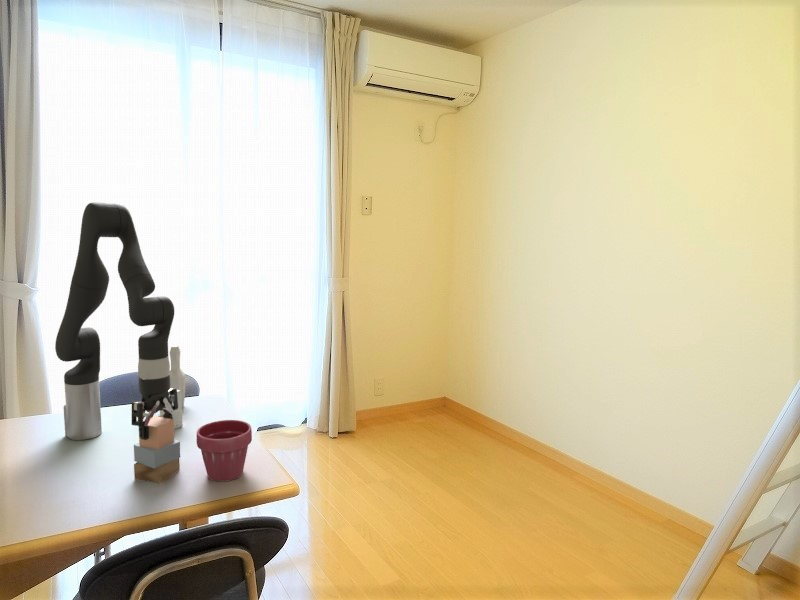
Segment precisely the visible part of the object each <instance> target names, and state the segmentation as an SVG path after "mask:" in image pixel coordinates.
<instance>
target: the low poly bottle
mask: <svg viewBox="0 0 800 600" xmlns="http://www.w3.org/2000/svg"><path fill="white" fill-rule="evenodd" d="M169 358H170V359H169V360H170V388H174V389H177V390H180V391H181V395H182V408H183V407H184V406H185V398H186V397H185V395H186V388H187V381H186V379H187V378H186V373H185V372H184V371H183V370H182V369H181V350H180V346H179V345H171V346H170V350H169Z"/></svg>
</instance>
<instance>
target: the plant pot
mask: <svg viewBox="0 0 800 600" xmlns="http://www.w3.org/2000/svg"><path fill="white" fill-rule="evenodd" d="M252 431H253V430H252V426H251V424H250V423H248V422H246V421H243V420H237V419H223V420H216V421H212V422H208V423H206V424H204V425H202V426H200V427H198V429H197V430H196V446H197V448H198V449H199V450H200V452H201V457H202V460H203V463H204V467H205V471H206V474H207V478H209V479H210V480H212V481H215V482H228V481H232V480H235V479H236V480H237V478H239V477H241V476H242V475H243V473H244V469H245V468H244V467H245V463H246V459H247V455H248V448H249V445H250V444H251V442H252V440H253V436H252V435H253V432H252Z"/></svg>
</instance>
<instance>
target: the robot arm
mask: <svg viewBox="0 0 800 600" xmlns="http://www.w3.org/2000/svg"><path fill="white" fill-rule="evenodd" d="M79 235H80V236H79V244H78V252H77V257H76V261H75V266H74V270H73V274H72V277H71V282H70V287H69V292H68V297H67V298H68V299H67V302H66V306H65V310H64V314H63V317H62V321H61V323H60V325H59V328H58V331H57V335H56V339H55V344H54V345H55V353H56V356H57V358H58V359H59V360H60V361H62V362H75V361H78V363H77V364H76V365H75V366H73V367H72V368H71V369H68V370H67V371H66V372H65V373H64V375H63V380H64V381H63V382H64V393H65V395H64V397H65V404H64V405H63V420H64V433H65V434H64V436H66V437H67V438H68V439H69V440H73V441H74V440H75V441H82V440H84V441H85V440H91V439H93V438H95V437H98V436H100V435H101V434H102V429H103V428H102V411H101V409H102V408H101V393H100V391H101V390H100V373H101V372H100V371H101V340H100V337H99V334H98V332H97V330H96V329H95V328H93V327H82V326H83V325H84V324H85V322H86V320H87V319H89V317H90V316H92V314H93V313H94V312H96V310H97V309H98V308H99V307H100V306H101V304H103V302H104V300H105V298H106V295H107V291H108V287H109V283H110V275H109V272H108V270H107V267H106V266H105V264H104V262H103V260H102V259H101V257H100V255H99V252H98V243H99V240H100V238H119V240H120V241H121V243H122V250H121V254H120V256H119V258H118V263H117V272H118V276H119V278H120V280H121V283H122V286H123V287H124V290H125V292H126V296H127V303H128V316H129V319H130V321H131V322H132V323H133V324H134V325H136V326H138V327H148V326H154V327H153V329H152V330H151V331H149V332H146V333H144V334H142V335H140V336H139V338H138V340H137V343H138V344H137V346H138V364H137V372H138V373H137V374H138V392H139V393H140V394H141V400H140V401H133V402H132V403H131V425H132V426H135V427H138V438H139V437H140V438H141V439H143V440H147V439H149V426H148V423H149V421H150V419H151V418H152V417H154V416H155V414H157V413H158V412H160V411H161V410H162V411H163V412H164V413H165V414H163V418H169V419H172V414H173V413H174V410H177V409H178V398H177V389H174V388H170V370H171V362H170V359H169V358H170V357H169V337H170V334H171V329H172V326H173V325H172V324H173V323H174V318H175V306H174V303H173V301H172V300H171V299H170V298H169V297H168V296H163V295H162V296H153V297H148V296H150V295H151V294H152V293H154V292H155V290H156V284H155V280H154V278H153V277H152V274H151V273H150V270H149V269H148V267H147V264H146V262H145V260H144V257H143V253H142V250H141V246H140V242H139V239H138V234H137V230H136V226H135V224H134V221H133V217H132V215H131V213H130V210H129V209H128V208H127V206H126V205H123V204H120V203H110V202H89V203H87V205H86V206H85V208H84V211H83V214H82V218H81V227H80V234H79ZM172 401H173V404H174V405H172Z"/></svg>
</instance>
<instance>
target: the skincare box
mask: <svg viewBox="0 0 800 600" xmlns="http://www.w3.org/2000/svg"><path fill="white" fill-rule="evenodd" d="M177 398H178V409H177V410H174V413H173V414H172V417H173V419H174V430H175V429H178V428H180V427H183V425H184V424H183V407H182V395H181V391H180V390H177ZM172 405H174V404H173V401H172ZM163 414H165V413H164V412H163V411H162V410H161V411H159V416H160V415H163Z"/></svg>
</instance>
